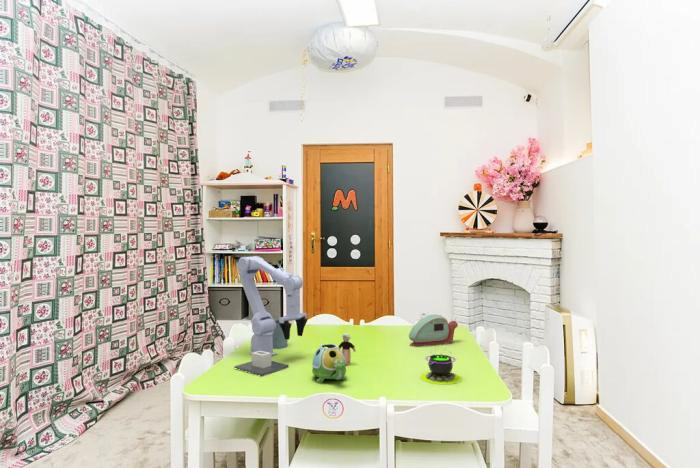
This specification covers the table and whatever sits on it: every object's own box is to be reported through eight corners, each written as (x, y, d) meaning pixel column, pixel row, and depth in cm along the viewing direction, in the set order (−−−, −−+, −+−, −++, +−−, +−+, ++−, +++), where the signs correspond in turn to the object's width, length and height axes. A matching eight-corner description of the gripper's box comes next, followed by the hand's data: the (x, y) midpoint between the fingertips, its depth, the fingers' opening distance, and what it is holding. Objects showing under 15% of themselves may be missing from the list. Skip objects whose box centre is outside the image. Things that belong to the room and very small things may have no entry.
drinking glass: (263, 348, 214) (263, 322, 214) (273, 343, 223) (273, 318, 223) (283, 349, 211) (283, 323, 211) (292, 344, 220) (292, 319, 220)
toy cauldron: (432, 369, 179) (431, 341, 179) (468, 376, 170) (468, 347, 170) (412, 379, 168) (412, 349, 167) (450, 388, 158) (450, 356, 158)
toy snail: (413, 347, 212) (412, 317, 212) (406, 344, 220) (406, 315, 220) (461, 343, 220) (461, 314, 219) (453, 340, 227) (453, 312, 227)
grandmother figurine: (336, 365, 186) (336, 333, 186) (338, 362, 189) (337, 331, 189) (355, 365, 185) (355, 334, 184) (356, 363, 188) (356, 332, 188)
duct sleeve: (271, 365, 182) (271, 353, 182) (262, 368, 179) (262, 355, 179) (260, 362, 186) (260, 350, 186) (251, 365, 183) (251, 352, 183)
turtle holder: (324, 390, 157) (323, 355, 157) (307, 375, 173) (307, 343, 173) (357, 385, 162) (357, 351, 162) (338, 370, 178) (337, 340, 178)
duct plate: (234, 368, 182) (234, 358, 182) (261, 360, 193) (261, 351, 193) (261, 376, 172) (261, 365, 172) (288, 367, 183) (288, 357, 183)
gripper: (287, 308, 186) (287, 342, 186) (311, 303, 197) (312, 335, 197) (275, 306, 190) (275, 339, 190) (300, 302, 202) (300, 333, 202)
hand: (293, 337), depth 194 cm, fingers open, 7 cm apart
